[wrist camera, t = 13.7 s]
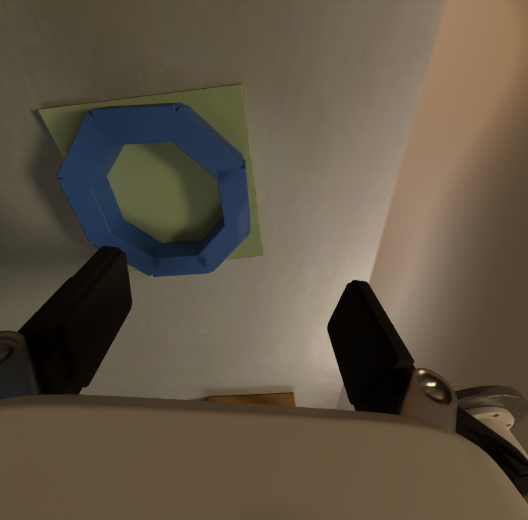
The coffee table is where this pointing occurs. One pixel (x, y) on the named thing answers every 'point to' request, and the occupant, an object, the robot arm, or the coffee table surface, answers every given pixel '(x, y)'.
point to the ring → (104, 202)
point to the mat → (171, 169)
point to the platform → (259, 399)
